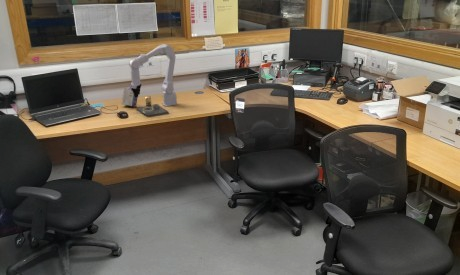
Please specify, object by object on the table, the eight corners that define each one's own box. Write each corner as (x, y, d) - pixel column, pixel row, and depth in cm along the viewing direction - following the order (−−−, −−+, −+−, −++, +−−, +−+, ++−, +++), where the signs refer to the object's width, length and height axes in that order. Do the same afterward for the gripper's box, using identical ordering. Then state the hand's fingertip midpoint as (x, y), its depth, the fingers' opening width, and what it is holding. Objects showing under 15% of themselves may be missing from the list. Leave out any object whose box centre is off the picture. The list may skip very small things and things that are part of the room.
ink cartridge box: (136, 106, 291) (139, 87, 290) (131, 106, 286) (134, 86, 285) (126, 105, 295) (128, 85, 294) (121, 104, 290) (123, 84, 289)
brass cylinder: (150, 105, 296) (149, 95, 293) (152, 106, 293) (151, 97, 290) (145, 105, 294) (144, 96, 291) (147, 107, 290) (146, 97, 288)
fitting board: (157, 106, 292) (156, 101, 291) (168, 113, 277) (168, 108, 276) (136, 109, 284) (136, 105, 283) (147, 117, 269) (146, 112, 267)
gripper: (131, 74, 284) (133, 93, 289) (128, 79, 271) (129, 98, 276) (141, 74, 285) (143, 93, 290) (138, 79, 271) (140, 98, 276)
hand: (137, 95), depth 283 cm, fingers open, 7 cm apart
